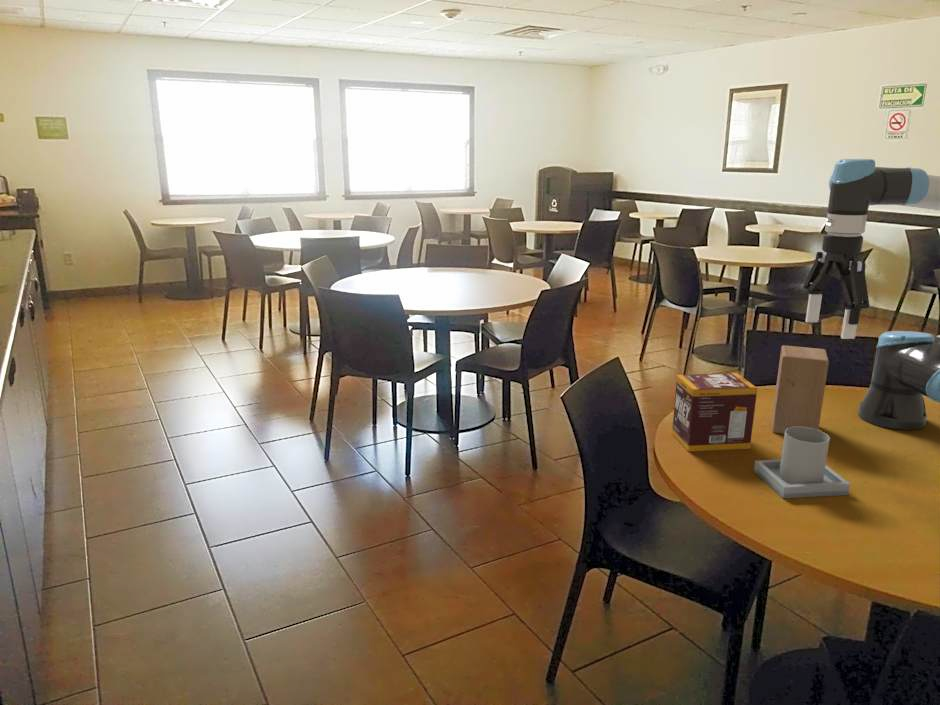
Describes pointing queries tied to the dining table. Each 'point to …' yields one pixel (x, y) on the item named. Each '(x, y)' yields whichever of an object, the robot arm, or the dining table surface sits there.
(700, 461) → the dining table surface
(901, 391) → the robot arm
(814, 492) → the tray
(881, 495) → the dining table surface
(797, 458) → the cup
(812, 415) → the wooden block
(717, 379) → the supplement box
